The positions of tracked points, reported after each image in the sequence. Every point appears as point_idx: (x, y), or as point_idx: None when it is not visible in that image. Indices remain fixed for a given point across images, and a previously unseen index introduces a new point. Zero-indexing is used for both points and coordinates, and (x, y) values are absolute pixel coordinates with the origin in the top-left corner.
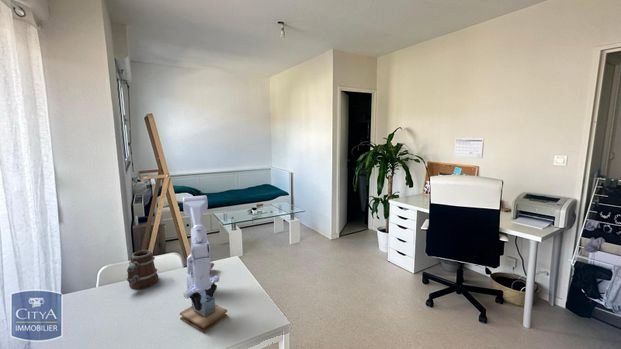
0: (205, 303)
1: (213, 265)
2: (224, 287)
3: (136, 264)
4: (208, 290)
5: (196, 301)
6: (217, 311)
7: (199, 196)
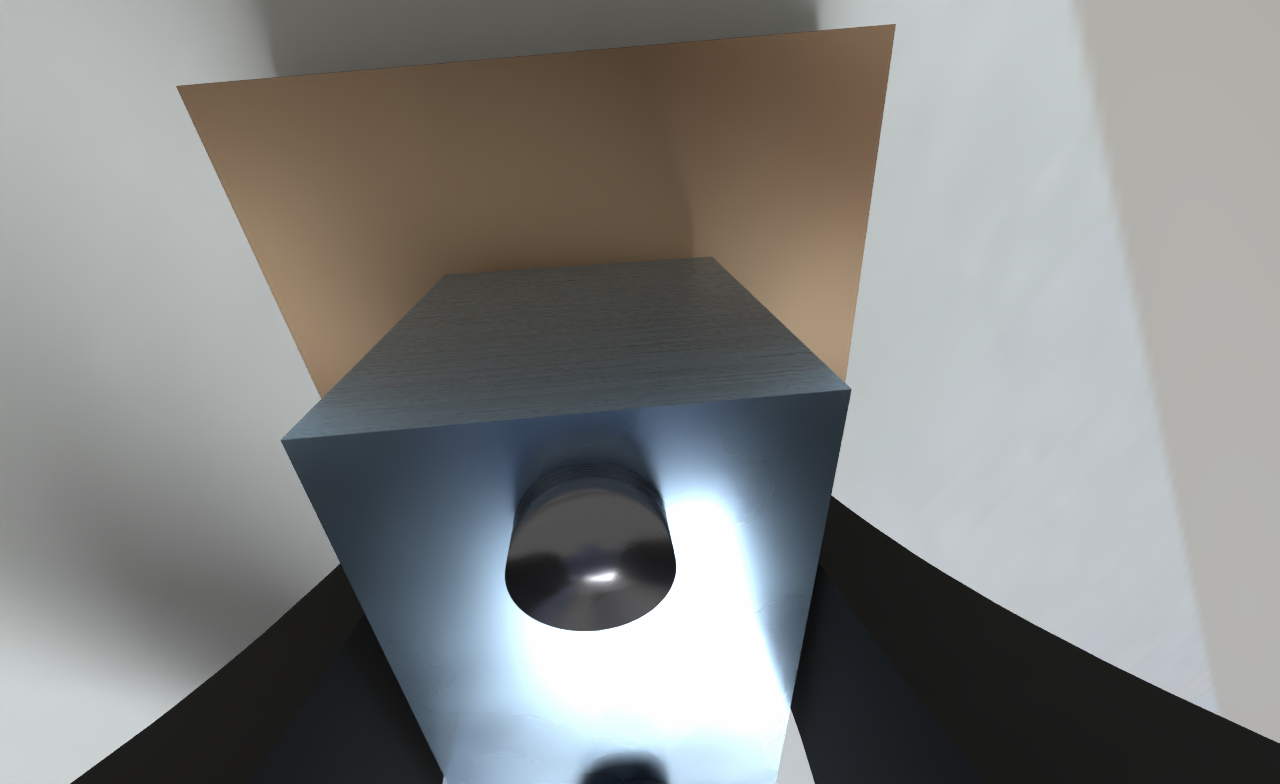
0: (769, 412)
1: None
2: (111, 693)
3: None
4: None
5: (1091, 673)
6: (412, 240)
7: None
